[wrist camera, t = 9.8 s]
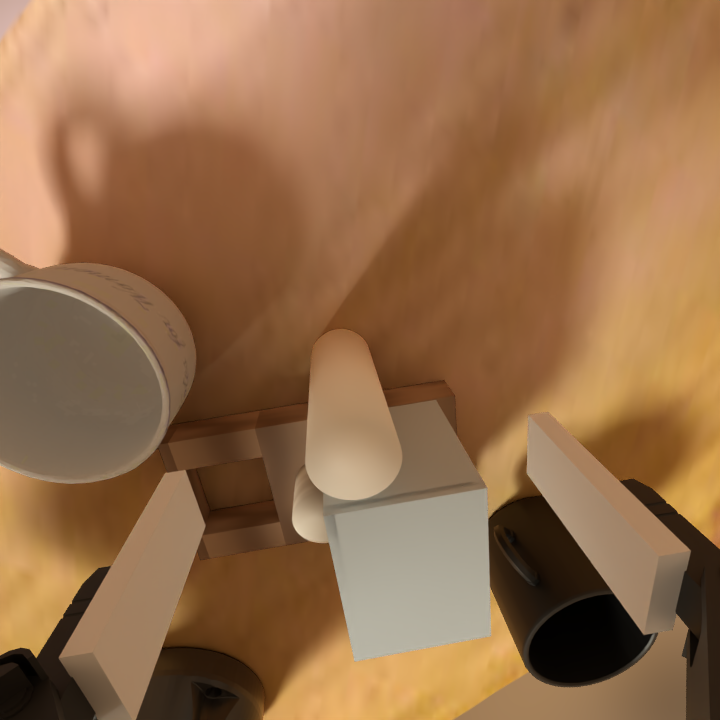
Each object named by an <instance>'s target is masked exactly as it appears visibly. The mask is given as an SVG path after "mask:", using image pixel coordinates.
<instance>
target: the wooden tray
mask: <svg viewBox="0 0 720 720" xmlns="http://www.w3.org/2000/svg"><path fill="white" fill-rule="evenodd" d="M383 393H384V396H385V399H386V402H387V406H388V407H394V406H400V405H406V404H413V403H419V402H425V401H431V400H436V401H437V402H438V404H439V406H440V408H441V409H442V411H443V413H444V414H445V416H446V418H447V420H448V421H449V423H450V425H451V426H452V428H453V430H454V432H455V433H456V435H457V427H456V409H455V395H454V394H453V393H452V391H451V390H450V388H449V387H448V385H447V384H446V382H445V381H444V380H443V381H437V382H431V383H425V384H419V385H412V386H406V387H400V388H394V389H388V390H383ZM307 419H308V403H303V404H296V405H290V406H284V407H278V408H272V409H266V410H260V411H254V412H248V413H241V414H235V415H229V416H223V417H217V418H211V419H205V420H199V421H193V422H186V423H180V424H174V425H170V426H169V428H168V429H167V432H166V434H165V436H164V438H163V440H162V442H161V443H160V445H159V446H158V449H159V452H160V454H161V457H162V460H163V462H164V465H165V468H166V470H167V473H169V472H176V471H182V470H186V473H187V476H188V479H189V481H190V484H191V487H192V490H193V492H194V495H195V498H196V501H197V503H198V506H199V509H200V512H201V514H202V517H203V520H204V523H205V525H206V527H205V529H204V532H203V535H202V538H201V541H200V543H199V546H198V549H197V552H198V555H199V558H200V560H205V559H210V558H216V557H222V556H227V555H233V554H239V553H245V552H250V551H256V550H262V549H267V548H273V547H279V546H284V545H290V544H296V543H302V542H307V541H312V542H316V543H329V541H328V536H327V531H326V527H325V522H324V517H323V492H322V491H321V490H319V489H318V488H317V487H316V486H315V485H314V484H313V483H312V481H311V480H310V478H309V476H308V474H307V471H306V466H305V454H306V436H307ZM260 457H263V461H264V465H265V469H266V472H267V476H268V480H269V484H270V487H271V491H272V495H273V499H274V500H272V501H266V502H260V503H254V504H248V505H243V506H237V507H231V508H225V509H219V510H213V511H210V508H209V505H208V503H207V500H206V497H205V494H204V491H203V488H202V485H201V482H200V479H199V476H198V474H197V471H196V468H200V467H206V466H212V465H218V464H224V463H230V462H236V461H242V460H248V459H254V458H260Z"/></svg>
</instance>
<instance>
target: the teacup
mask: <svg viewBox="0 0 720 720" xmlns="http://www.w3.org/2000/svg"><path fill="white" fill-rule="evenodd" d="M195 370H196V348H195V343H194V339H193V335H192V333H191V330H190V328H189V325H188V323H187V322H186V320H185V318H184V316H183V315H182V313H181V312H180V310H179V309H178V308H177V306H176V305H175V304H174V303H173V301H172V300H171V299H170V298H169V297H168V296H167V295H165V294H164V293H163V292H162V291H161V290H160V289H159V288H157V287H156V286H154V285H153V284H152V283H150V282H149V281H147V280H145V279H144V278H142V277H140V276H138V275H136V274H134V273H131V272H129V271H126V270H124V269H120V268H117V267H114V266H109V265H104V264H97V263H68V264H60V265H55V266H50V267H46V268H42V269H39V268H36V267H34V266H31V265H28V264H25V263H23V262H22V261H20V260H18V259H17V258H15V257H14V256H12V255H10V254H9V253H7V252H5V251H4V250H2V249H0V465H1V466H3V467H5V468H7V469H9V470H12V471H14V472H17V473H19V474H22V475H25V476H28V477H31V478H35V479H39V480H43V481H49V482H56V483H66V484H77V483H92V482H97V481H101V480H106V479H111V478H114V477H117V476H119V475H122V474H124V473H127V472H129V471H131V470H133V469H135V468H136V467H138V466H139V465H140V464H141V463H143V462H144V461H145V460H146V459H147V458H148V457H149V456H151V455H152V454H153V452H154V451H155V450H156V449H157V448H158V446H159V445H160V443H161V442H162V440H163V438H164V436H165V434H166V432H167V429H168V427H169V425H170V424H171V422H172V420H173V419H174V417H175V416H176V414H177V413H178V411H179V410H180V408H181V406H182V404H183V403H184V401H185V399H186V397H187V395H188V393H189V391H190V389H191V386H192V383H193V380H194V376H195Z"/></svg>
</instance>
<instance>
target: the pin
mask: <svg viewBox="0 0 720 720" xmlns="http://www.w3.org/2000/svg"><path fill="white" fill-rule="evenodd" d="M401 464H402V449H401V445H400V442H399V439H398V436H397V433H396V430H395V427H394V424H393V421H392V418H391V415H390V412H389V409H388V406H387V402H386V399H385V396H384V393H383V390H382V387H381V384H380V381H379V378H378V375H377V372H376V369H375V366H374V363H373V360H372V357H371V354H370V351H369V348H368V345H367V343H366V342H365V340H364V339H363V338H362V337H361V336H360V335H359V334H357V333H356V332H353V331H351V330H347V329H335V330H331V331H328V332H326V333H325V334H323V335H322V336H321V337H320V338H319V339H318V340H317V341H316V342H315V344H314V346H313V349H312V353H311V368H310V385H309V402H308V419H307V436H306V454H305V466H306V471H307V474H308V476H309V478H310V480H311V481H312V483H313V484H314V485H315V486H316V487H317V488H318V489H319V490H321V491H322V492H324V493H325V494H327V495H329V496H331V497H334V498H338V499H343V500H359V499H364V498H368V497H371V496H374V495H376V494H378V493H380V492H381V491H383V490H384V489H385V488H387V487H388V486H389V485H390V484H391V483H392V482H393V481H394V479H395V478H396V476H397V475H398V473H399V470H400V468H401Z"/></svg>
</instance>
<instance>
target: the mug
mask: <svg viewBox="0 0 720 720" xmlns="http://www.w3.org/2000/svg"><path fill="white" fill-rule="evenodd" d="M488 536H489V575H490V587H491V590H492V592H493V594H494V597H495V599H496V601H497V603H498V606H499V608H500V610H501V612H502V615H503V617H504V619H505V622H506V624H507V626H508V628H509V631H510V633H511V635H512V637H513V640H514V642H515V644H516V646H517V649H518V651H519V653H520V656H521V658H522V660H523V662H524V665H525V667H526V668H527V669H528V671H529V672H530V673H531V674H532V675H533V676H534V677H535V678H536V679H538V680H540V681H542V682H544V683H546V684H549V685H553V686H558V687H581V686H587V685H592V684H595V683H599V682H602V681H605V680H607V679H610V678H612V677H614V676H616V675H618V674H620V673H622V672H624V671H625V670H627V669H628V668H630V667H631V666H633V665H634V664H635V663H637V662H638V661H639V660H640V659H641V658H642V657H643V656H644V655H645V654H646V653H647V651H648V650H649V649H650V648H651V646H652V645H653V643H654V642H655V640H656V637H657V635H658V632H657V633H652V634H646V635H644V634H643V633H642V632H641V630H640V629H639V627H638V626H637V625H636V623H635V622H634V621H633V619H632V618H631V616H630V615H629V614H628V612H627V611H626V610H625V608H624V607H623V605H622V604H621V603H620V601H619V600H618V599H617V597H616V596H615V594H614V593H613V592H612V590H611V589H610V587H609V586H608V585H607V583H606V582H605V581H604V579H603V578H602V576H601V575H600V574H599V572H598V571H597V570H596V568H595V567H594V565H593V564H592V563H591V561H590V560H589V559H588V557H587V556H586V554H585V553H584V552H583V550H582V549H581V547H580V546H579V545H578V543H577V542H576V541H575V539H574V538H573V536H572V535H571V534H570V532H569V531H568V530H567V528H566V527H565V525H564V524H563V523H562V521H561V520H560V519H559V517H558V516H557V514H556V513H555V512H554V510H553V509H552V508H551V506H550V505H549V503H548V502H547V501H546V499H545V498H544V497H530V498H525V499H521V500H518V501H516V502H513V503H511V504H509V505H507V506H505V507H504V508H502V509H501V510H499V511H498V512H497V513H496V514H494V515H493V516H492V517H491V518H490V519H489V521H488Z"/></svg>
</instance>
